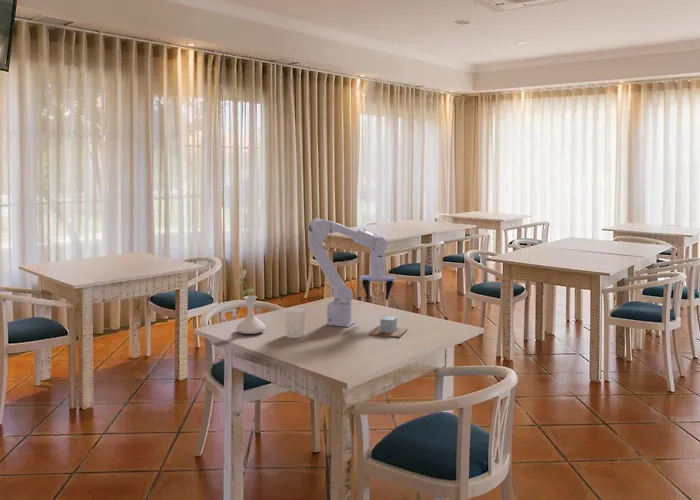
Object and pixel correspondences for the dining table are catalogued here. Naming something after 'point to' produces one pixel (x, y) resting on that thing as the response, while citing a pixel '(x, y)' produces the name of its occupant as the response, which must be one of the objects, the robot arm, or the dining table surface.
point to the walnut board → (396, 334)
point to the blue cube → (388, 324)
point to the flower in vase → (250, 322)
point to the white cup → (294, 322)
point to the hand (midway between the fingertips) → (377, 298)
